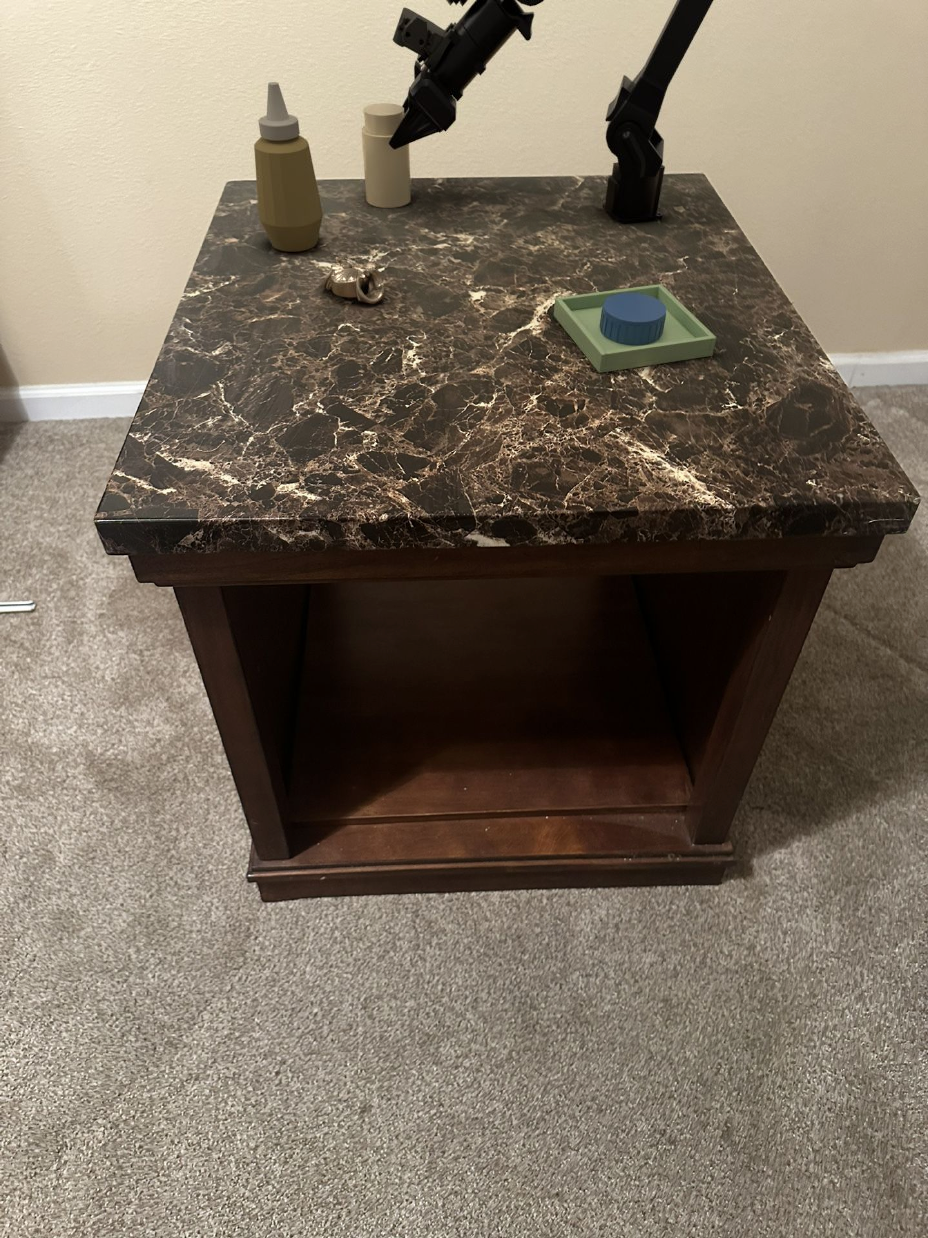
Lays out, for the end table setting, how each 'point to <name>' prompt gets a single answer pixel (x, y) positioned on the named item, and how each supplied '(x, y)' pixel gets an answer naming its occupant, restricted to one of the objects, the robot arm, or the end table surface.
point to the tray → (675, 344)
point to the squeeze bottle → (286, 179)
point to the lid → (632, 319)
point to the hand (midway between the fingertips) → (393, 135)
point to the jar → (385, 157)
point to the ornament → (355, 281)
